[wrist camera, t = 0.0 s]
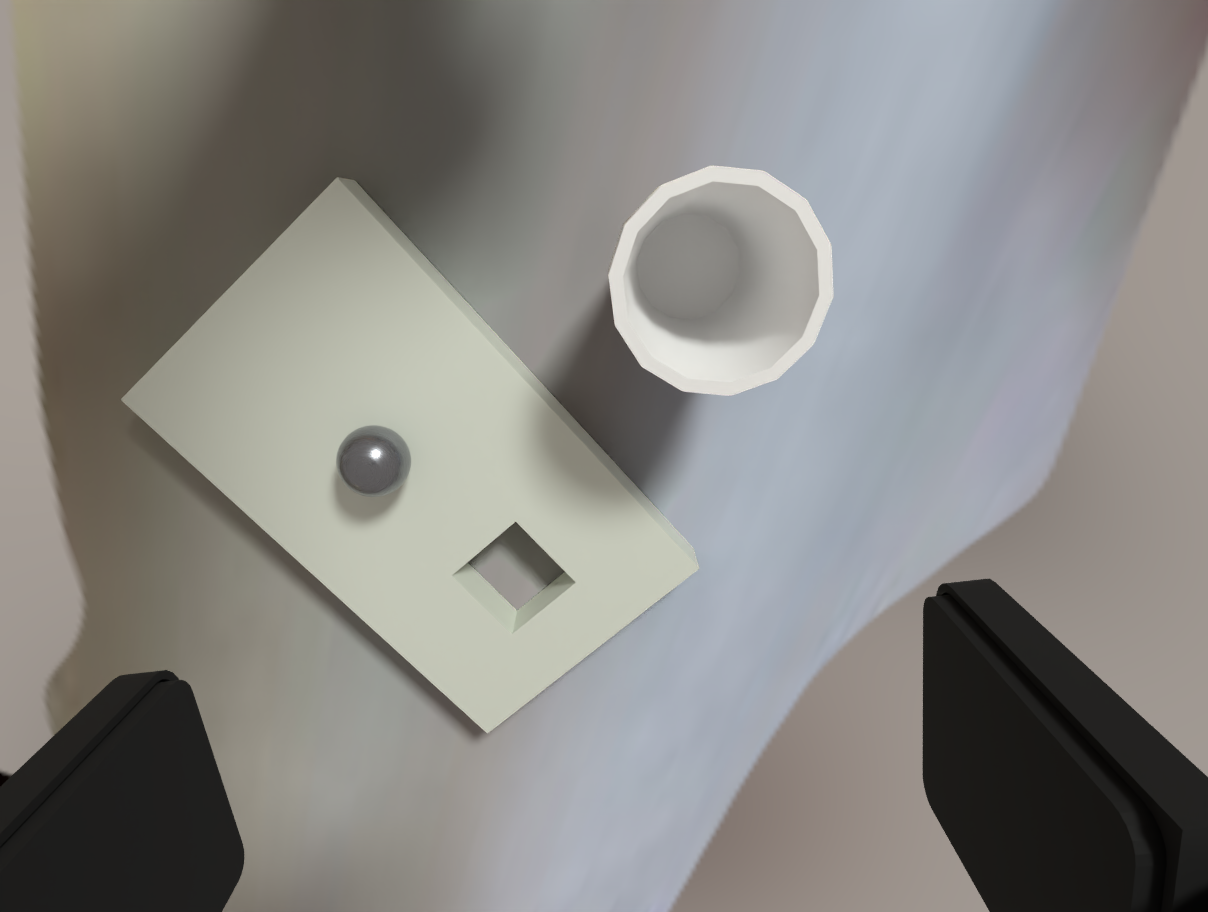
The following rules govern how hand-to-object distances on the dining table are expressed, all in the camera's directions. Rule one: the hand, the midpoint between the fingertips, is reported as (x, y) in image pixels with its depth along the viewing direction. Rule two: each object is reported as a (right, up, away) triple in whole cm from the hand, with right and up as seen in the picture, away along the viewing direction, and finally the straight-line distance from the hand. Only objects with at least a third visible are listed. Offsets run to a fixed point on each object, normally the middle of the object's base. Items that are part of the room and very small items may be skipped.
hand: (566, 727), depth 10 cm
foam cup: (+5, +14, +35) cm, 38 cm away
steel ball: (-12, +3, +33) cm, 35 cm away
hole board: (-10, +2, +38) cm, 40 cm away
